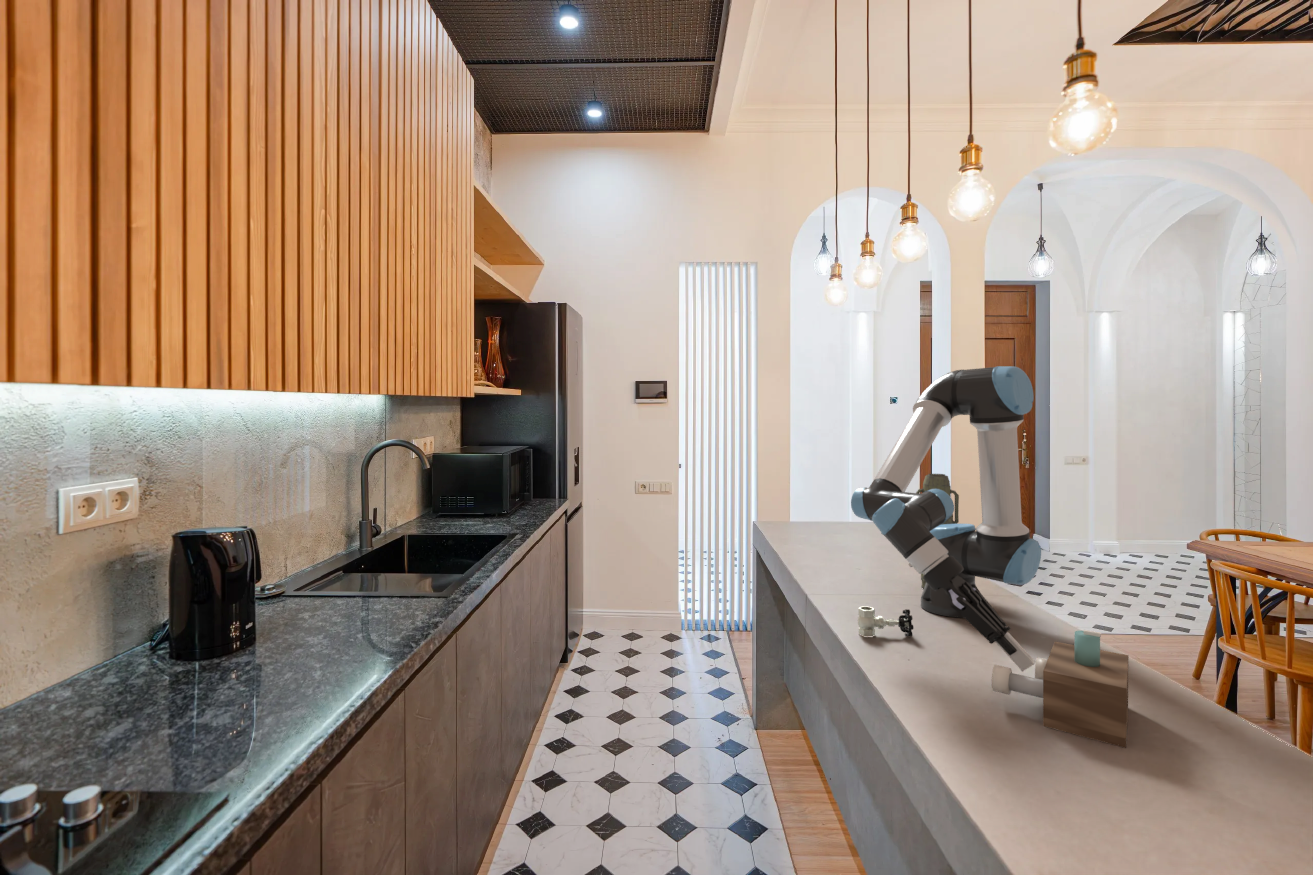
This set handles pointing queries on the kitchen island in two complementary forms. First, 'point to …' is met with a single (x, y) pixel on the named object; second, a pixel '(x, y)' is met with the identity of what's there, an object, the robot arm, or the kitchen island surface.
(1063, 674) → the mount
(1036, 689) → the knob
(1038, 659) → the knob
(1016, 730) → the kitchen island surface
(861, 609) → the valve
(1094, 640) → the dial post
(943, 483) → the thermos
